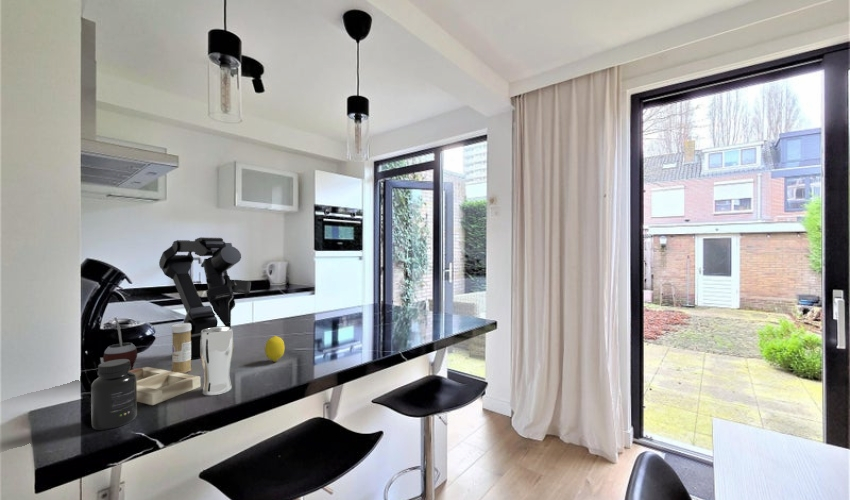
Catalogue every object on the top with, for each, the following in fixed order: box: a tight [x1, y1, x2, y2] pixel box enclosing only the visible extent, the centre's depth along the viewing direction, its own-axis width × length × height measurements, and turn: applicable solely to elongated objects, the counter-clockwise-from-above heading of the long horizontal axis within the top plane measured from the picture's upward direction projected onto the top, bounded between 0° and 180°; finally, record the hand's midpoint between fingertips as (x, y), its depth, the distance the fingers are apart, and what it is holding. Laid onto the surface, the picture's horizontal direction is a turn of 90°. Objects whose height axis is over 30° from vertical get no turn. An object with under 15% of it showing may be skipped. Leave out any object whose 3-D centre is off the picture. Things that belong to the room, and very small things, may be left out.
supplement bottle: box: [90, 359, 138, 431], centre depth 69 cm, size 7×7×12 cm
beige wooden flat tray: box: [129, 366, 201, 406], centre depth 86 cm, size 21×11×3 cm, turn 69°
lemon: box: [264, 335, 286, 363], centre depth 106 cm, size 6×6×8 cm
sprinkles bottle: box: [171, 322, 192, 374], centre depth 98 cm, size 5×5×14 cm
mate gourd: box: [102, 317, 138, 371], centre depth 96 cm, size 8×8×15 cm
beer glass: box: [200, 325, 234, 397], centre depth 85 cm, size 7×7×15 cm
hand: (227, 325), depth 102 cm, fingers open, 9 cm apart
